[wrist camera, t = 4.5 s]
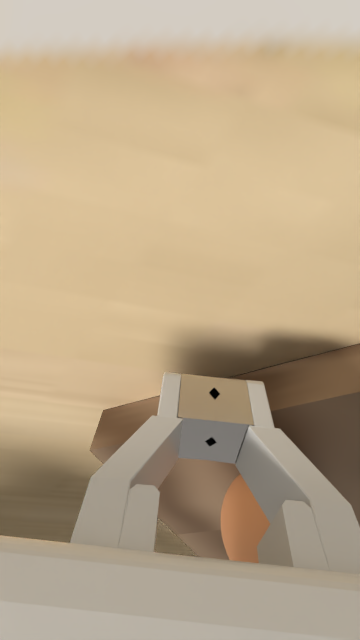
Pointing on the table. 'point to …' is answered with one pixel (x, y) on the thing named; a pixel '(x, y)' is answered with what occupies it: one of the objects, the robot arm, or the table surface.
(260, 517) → the rubber ball
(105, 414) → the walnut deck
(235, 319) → the table surface
